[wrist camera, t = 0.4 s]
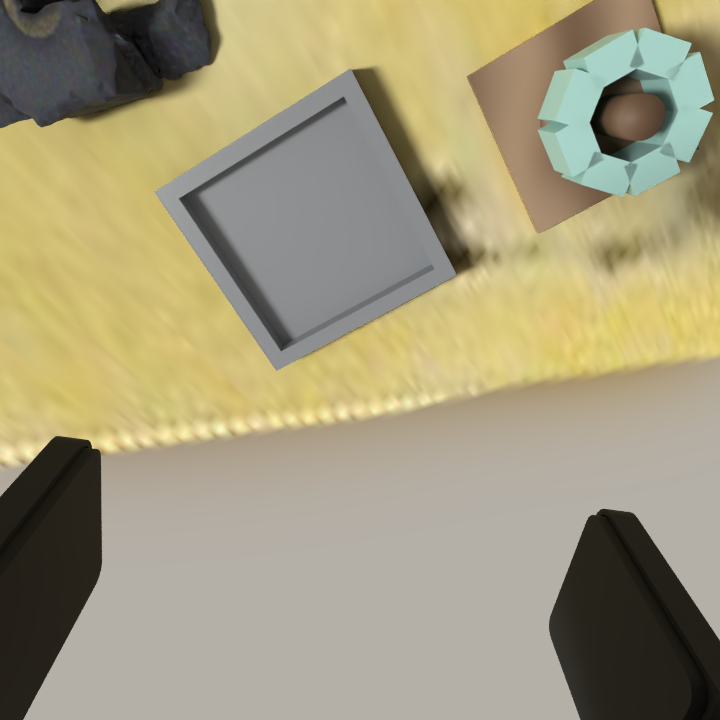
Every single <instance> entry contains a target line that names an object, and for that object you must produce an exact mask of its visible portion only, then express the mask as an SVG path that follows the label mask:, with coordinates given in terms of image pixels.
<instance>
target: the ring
mask: <svg viewBox="0 0 720 720" xmlns="http://www.w3.org/2000/svg"><path fill="white" fill-rule="evenodd" d="M691 44H692V43H689V42H686V41H683V40H680V39H677V38H674V37H672V36H669V35H666V34H663V33H660V32H657V31H654V30H651V29H648V28H642V29H637V30H633V29H632V30H628V31H624V32H620V33H616V34H611V35H607V36H605V37H604V38H602V39H600V40H599V41H597V42H595V43H593V44H592V45H590V46H588V47H587V48H585V49H583V50H581V51H580V52H578V53H576V54H575V55H573V56H571V57H569V58H568V59H566V60H564V61H563V62H564V65H565V68H566V70H559V71H555V72H554V75H553V78H552V81H551V83H550V86H549V89H548V91H547V94H546V97H545V100H544V102H543V105H542V108H541V110H540V113H539V116H538V119H540V120H544V121H547V122H550V123H549V124H547V125H546V126H544V127H542V128H540V129H538V132H539V135H540V137H541V140H542V142H543V144H544V147H545V149H546V152H547V154H548V156H549V159H550V161H551V164H552V166H553V168H554V170H555V171H558V172H560V173H563V175H562V177H563V178H566V179H568V180H571V181H573V182H576V183H578V184H581V185H584V186H587V187H591V188H594V189H597V190H601V191H604V192H607V193H611V194H614V195H617V196H621V197H624V195H625V193H628V194H631V195H634V196H636V195H638V194H640V193H642V192H643V191H645V190H647V189H649V188H651V187H653V186H655V185H657V184H659V183H661V182H663V181H664V180H666V179H668V178H670V177H672V176H674V175H676V174H678V173H680V169H679V166H678V163H677V160H679V161H684V162H689V163H690V160H691V158H692V156H693V154H694V152H695V150H696V148H697V146H698V144H699V141H700V139H701V137H702V135H703V133H704V131H705V129H706V127H707V125H708V123H709V120H710V118H711V116H712V114H713V113H711V112H708V111H705V110H702V109H699V108H701V107H703V106H705V105H707V104H708V103H710V102H712V101H714V97H713V94H712V91H711V87H710V84H709V81H708V77H707V74H706V71H705V67H704V64H703V61H702V57H701V54H700V52H695V53H688V51H689V49H690V46H691ZM624 75H625V76H628V77H631V78H634V79H637V80H640V82H641V85H642V88H643V91H644V94H653V95H656V96H657V97H659V98H660V99H661V100H662V102H663V104H664V106H665V112H666V113H665V120H664V123H663V125H662V127H661V129H660V130H659V131H658V132H657V133H656V134H655V135H654V136H653V137H651V138H649V139H647V140H644V141H636V142H634V143H632V144H630V145H628V146H627V147H625V148H623V149H621V150H619V151H617V152H616V153H614V154H612V155H610V156H608V155H605V154H602V153H601V151H600V149H599V146H598V144H597V141H596V138H595V136H594V133H593V130H592V128H591V125H590V120H591V118H592V115H593V113H594V110H595V108H596V105H597V103H598V100H599V98H600V95H601V93H602V90H603V88H604V87H605V86H607V85H609V84H610V83H612V82H614V81H616V80H617V79H619V78H621V77H623V76H624Z"/></svg>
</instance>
